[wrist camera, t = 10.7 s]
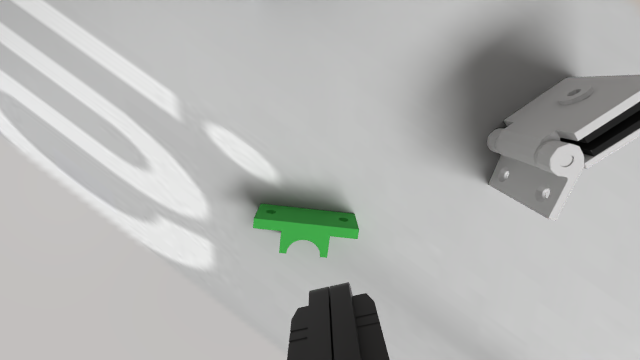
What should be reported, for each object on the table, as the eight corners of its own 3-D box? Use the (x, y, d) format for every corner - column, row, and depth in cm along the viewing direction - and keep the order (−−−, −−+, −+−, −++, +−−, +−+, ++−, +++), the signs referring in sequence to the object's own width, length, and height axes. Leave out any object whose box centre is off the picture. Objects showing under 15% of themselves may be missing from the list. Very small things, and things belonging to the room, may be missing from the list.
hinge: (492, 188, 37) (553, 224, 27) (460, 159, 36) (512, 185, 26) (590, 94, 34) (698, 97, 24) (559, 60, 33) (658, 49, 23)
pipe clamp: (259, 231, 39) (251, 250, 34) (261, 202, 37) (253, 218, 33) (350, 241, 39) (354, 261, 34) (354, 213, 38) (359, 229, 33)
